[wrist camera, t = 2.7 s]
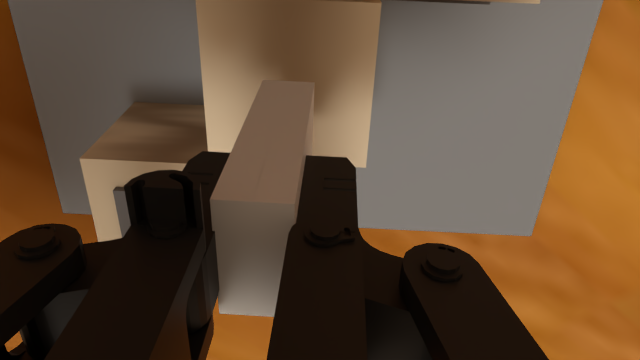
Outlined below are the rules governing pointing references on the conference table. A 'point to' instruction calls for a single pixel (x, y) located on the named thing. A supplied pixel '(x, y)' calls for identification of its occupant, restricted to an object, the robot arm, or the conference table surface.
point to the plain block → (291, 65)
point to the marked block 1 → (138, 157)
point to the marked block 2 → (478, 1)
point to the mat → (387, 104)
